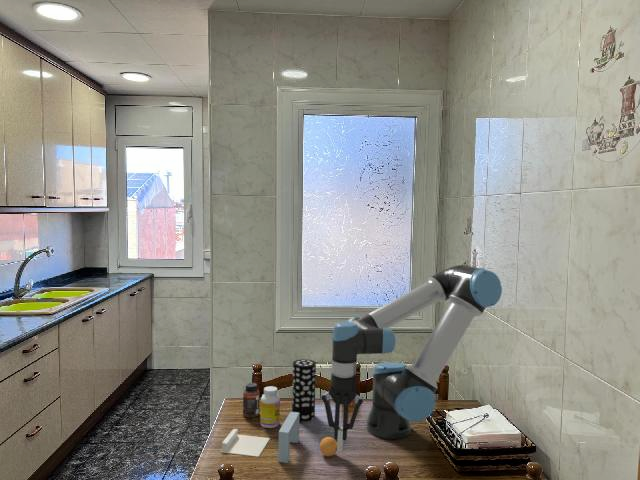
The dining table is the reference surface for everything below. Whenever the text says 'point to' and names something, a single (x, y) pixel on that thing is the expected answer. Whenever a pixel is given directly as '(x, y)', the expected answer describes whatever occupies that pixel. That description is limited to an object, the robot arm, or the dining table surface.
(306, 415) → the spotted tube
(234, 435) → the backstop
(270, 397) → the supplement bottle
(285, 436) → the bridge
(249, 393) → the supplement bottle
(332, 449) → the ball
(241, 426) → the dining table surface
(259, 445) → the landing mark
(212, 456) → the dining table surface
